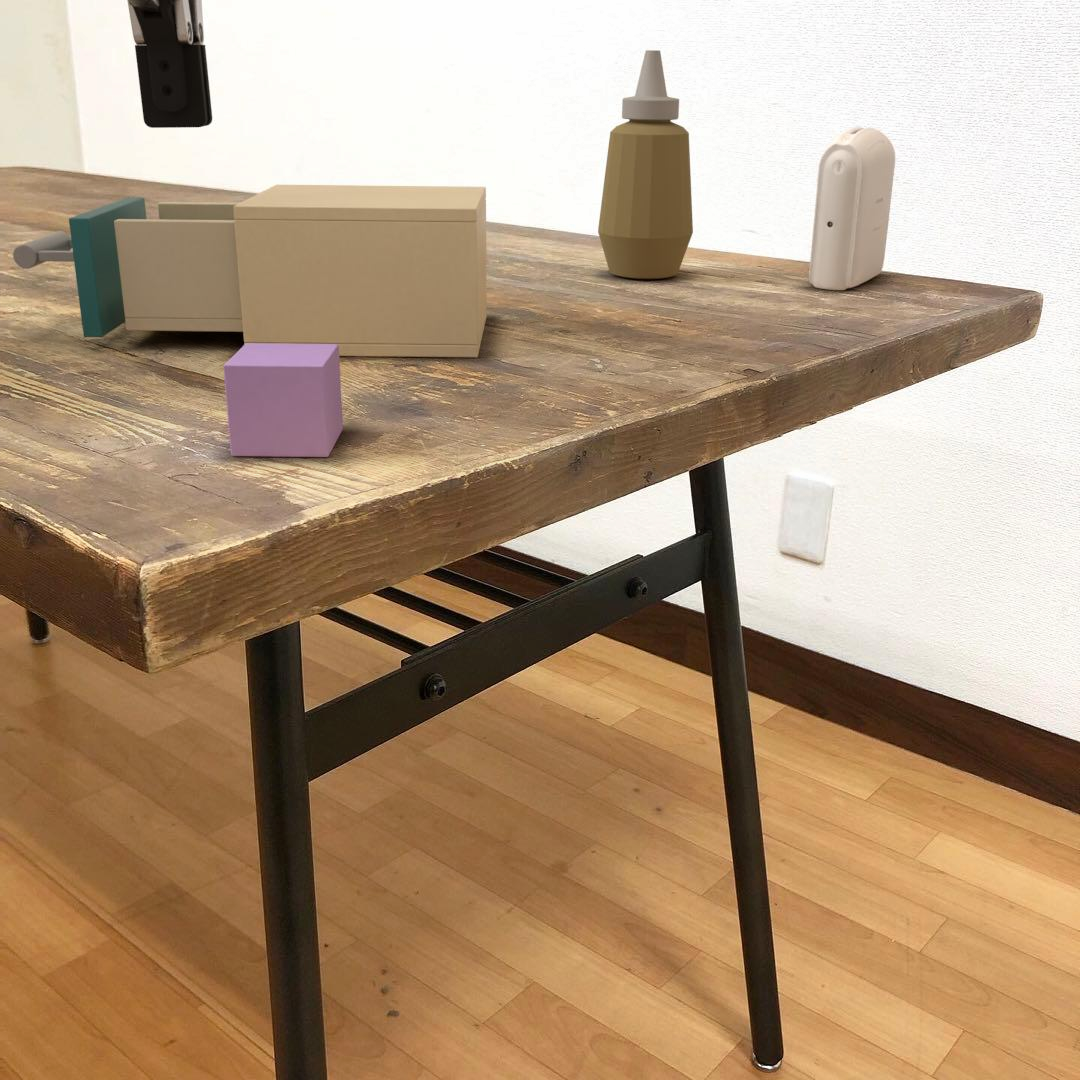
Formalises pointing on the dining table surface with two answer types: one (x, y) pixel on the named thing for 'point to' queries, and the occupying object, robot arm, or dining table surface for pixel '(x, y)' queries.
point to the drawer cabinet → (365, 268)
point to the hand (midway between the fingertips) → (179, 125)
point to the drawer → (149, 266)
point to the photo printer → (852, 209)
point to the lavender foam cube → (284, 400)
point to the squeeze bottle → (647, 183)
